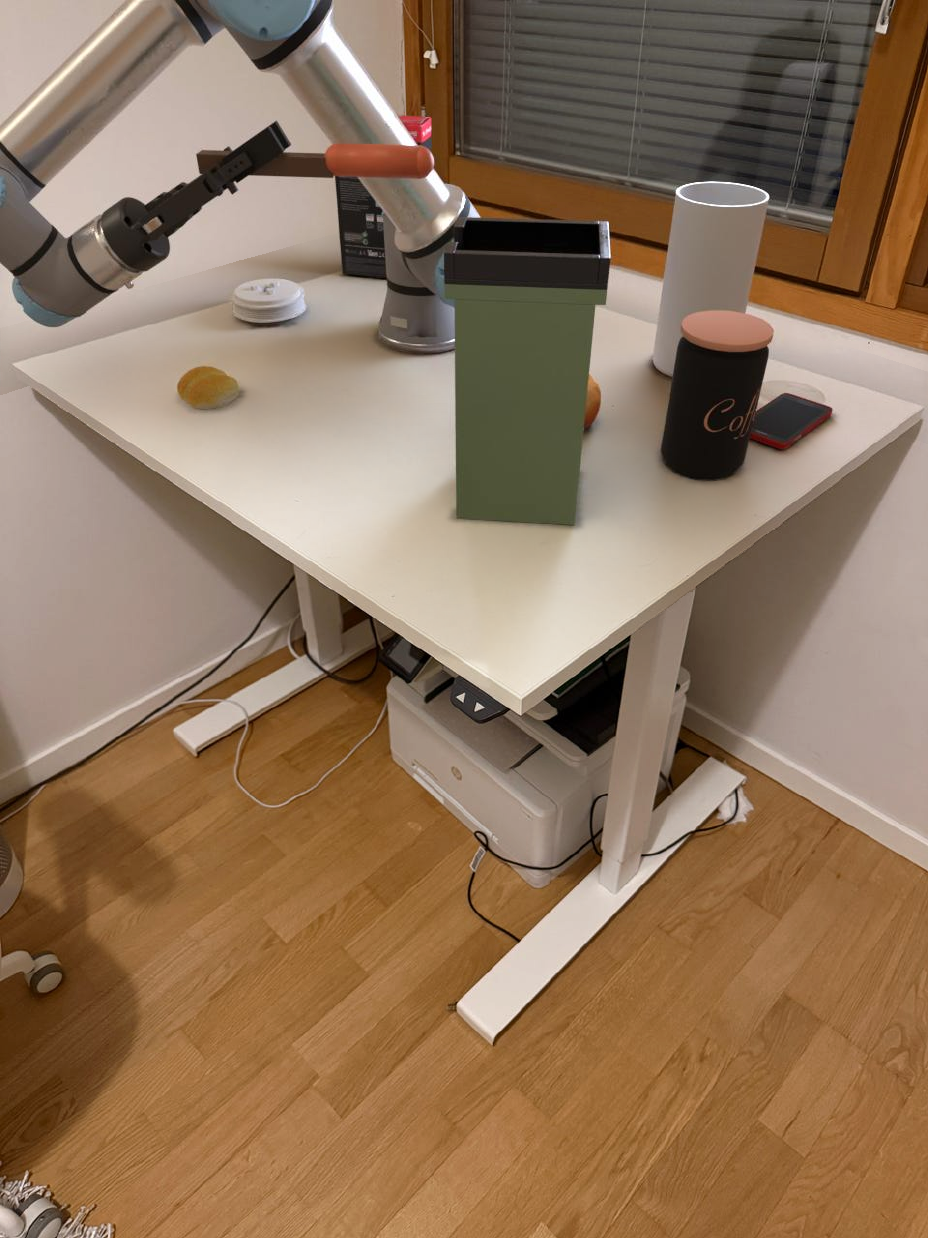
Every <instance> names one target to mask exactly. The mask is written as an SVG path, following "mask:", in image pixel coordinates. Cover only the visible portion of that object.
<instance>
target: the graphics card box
mask: <svg viewBox="0 0 928 1238" xmlns="http://www.w3.org/2000/svg"><path fill="white" fill-rule="evenodd" d="M397 116H398V117H399V119H400V120H401V122H402V123H403V125H404V126H405V128H406V129H407V131H408V132H409V133H410V135H411V136H412V138H413V139H414V141H415V142H416V144H417V145H420V146H424V147H426V148H428V149H429V150H430V151H431V153H432V117H430V116H421V115H419V116H417V115H404V114H402V115H401V114H397ZM432 154H433V153H432ZM334 182H335V183H334V184H335V195H336V206H337V207H336V208H337V222H338V234H339V235H338V236H339V245H340V247H339V248H340V258H341V259H340V260H341V270H342V274H343V275H344V274H345V275H352V276H361V277H370V278H371V277H372V278H380V279H387V276H386V260H385V243H384V227H383V217H382V212H383V210H382V209H381V207H380V206H379V205H378V203H377V202H376V201H375V199H374V198H373V197H372V196H371V194H370V193H369V192H368V190H367V189H366V188H365V186H364V185H363V184H362V183H361V181H360V180H359V179H358V177H341V176H334Z"/></svg>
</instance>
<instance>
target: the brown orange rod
mask: <svg viewBox="0 0 928 1238" xmlns="http://www.w3.org/2000/svg"><path fill="white" fill-rule="evenodd" d="M231 152H233V150H232V151H224V150H221V149H220V150H219V149H218V150H217V149H216V150H215V149H201V150H200V151H198V152H197V153H195V156H196V161H197V168H198V173H199V175H201V174H203V172H204V171H206V170H210V169H211V168H212V167H213V165H214V164H216V163H221V164H222V166H224V163H223V162H222V160H221V159H223V158H224V157H225V156H227V155H228V154H230V153H231ZM434 167H435V157H434V155H433V153H431V151H430V150H429V149H428V148H426V147H424V146H420V145H385V144H349V143H335V144H333V145H332V144H331V145H330V146H328V147H327V148H326V150H325V152H324V153H323V152H291V151H289V152H287V151H286V152H285V151H284V152H283V153H281V154H280V155H278V156H277V157H275V158H274V159H272V160H271V161H269V162H268V163H266V164H265V165H263V166H262V167H260V168H259V169H257V170H256V171H254V172H253V173H252V174H250V175H249V176H256V177H287V178H288V177H289V178H321V179H322V178H323V179H333V178H335V176H341V177H374V178H407V179H423V178H426V177H427V176H428V175H430V173H431V172H432V170H433V168H434ZM434 169H435V168H434ZM214 173H215V172H214Z"/></svg>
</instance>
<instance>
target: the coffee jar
mask: <svg viewBox="0 0 928 1238" xmlns="http://www.w3.org/2000/svg"><path fill="white" fill-rule="evenodd" d="M774 331H775V330H774V328H773V327H772V325H771V324H770V323H769V322H767V321H766V320H764V319H762V318H760V317H759V316H758V317H757V316H755V315H752V314H749V313H746V312H745V313H741V312H735V311H725V310H710V311H702V312H697V313H694V314H691V315H688V316H687V317H686V318H684V319H683V321H682V324H681V333H682V335H683V336H682V337H681V338H680V340H679V343H678V346H677V352H676V358H675V365H674V371H673V377H671V383H670V390H669V395H668V402H667V409H666V415H665V421H664V428H663V433H662V439H661V444H660V445H661V447H660V453H661V456H662V459H663V462H665V465H666V466H667V467H668V468H669V469H670V470H671V471H672V472H674V473H676V474H678V475H680V476H683V477H685V478H688V479H692V480H697V481H698V480H699V481H719V480H723V479H726V478H728V477H731V476H733V475H734V474H735V473H736V472H738V470H740V469H741V467H742V466H743V465H744V463H745V460H746V455H747V451H748V447H749V442H750V439H751V438H750V434H751V430H752V426H753V421H754V417H755V413H756V411H757V409H758V403H759V400H760V395H761V391H762V387H763V382H764V379H765V374H766V369H767V365H768V361H769V355H770V350H769V349H770V348H769V346H768V345H770V343H772V341H773V338H774V333H775V332H774Z"/></svg>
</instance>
